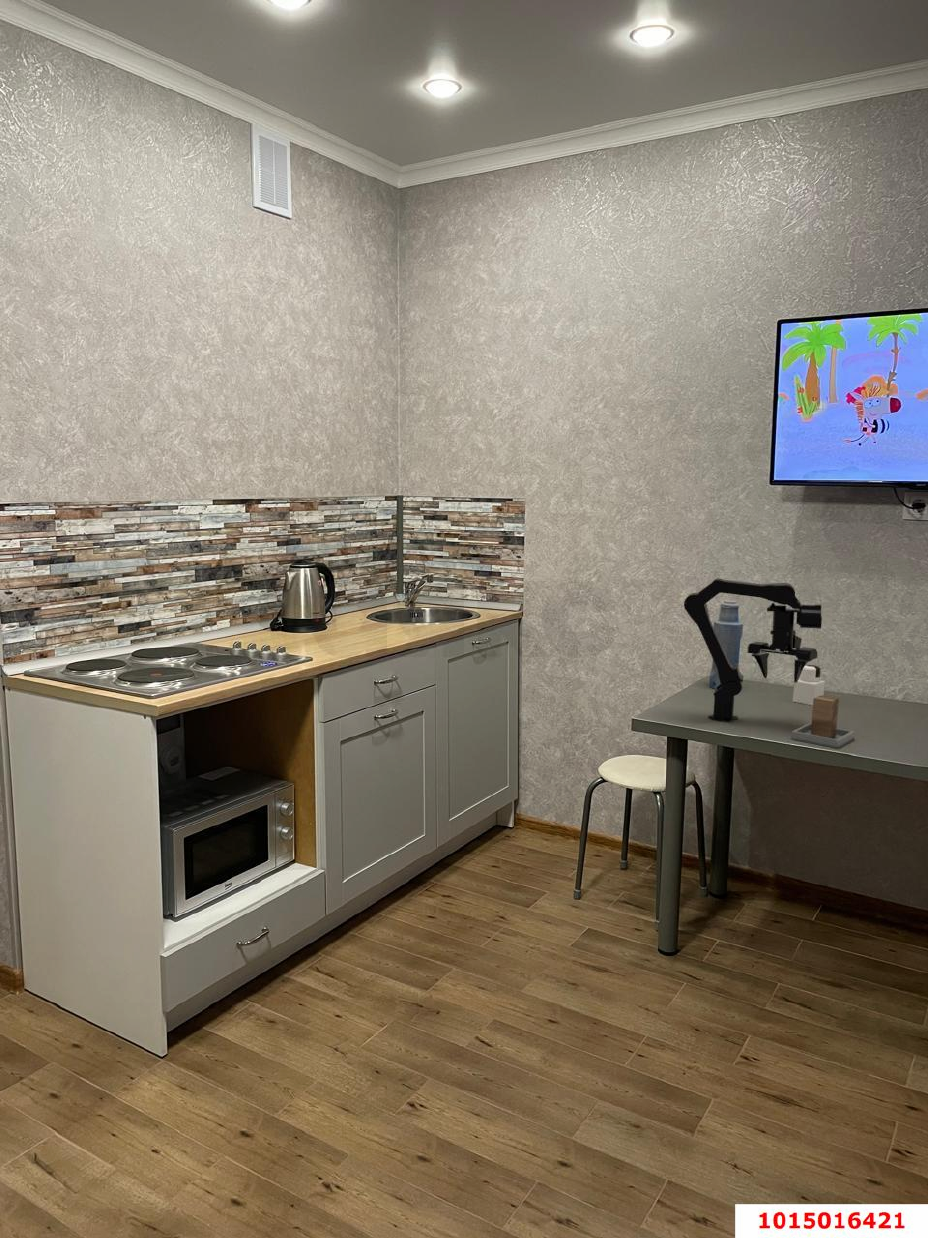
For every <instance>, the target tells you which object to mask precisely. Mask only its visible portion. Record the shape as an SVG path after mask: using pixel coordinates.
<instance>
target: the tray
mask: <svg viewBox="0 0 928 1238" xmlns="http://www.w3.org/2000/svg"><path fill="white" fill-rule="evenodd" d="M811 724H812V722H809V723H806V724H805V725H802V726H800V727H798V728H796V729H794V730H792V731H791V740H793V741H799V742H803V743H807V744H813V745H817V746H823V747H828V748H833V749H837V750H838V749H840V748H842V747H843V746H845V745H847V744H849V743H850V742H853V741H854V740H855V736H856V735H855V734H856V733H855V732H856V731H853V730H848V729H842V728H837V729H836V738H833V739H832V738H827V737H821V736H816V735H811Z"/></svg>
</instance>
